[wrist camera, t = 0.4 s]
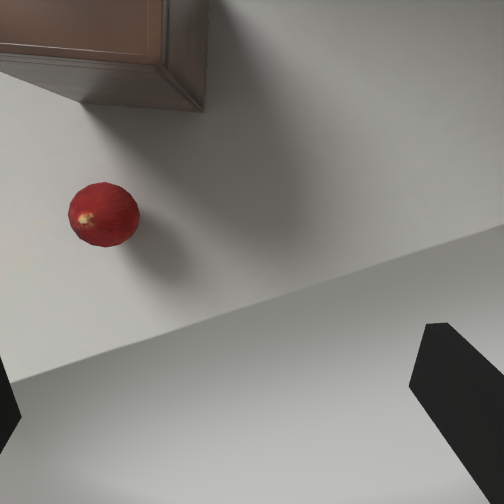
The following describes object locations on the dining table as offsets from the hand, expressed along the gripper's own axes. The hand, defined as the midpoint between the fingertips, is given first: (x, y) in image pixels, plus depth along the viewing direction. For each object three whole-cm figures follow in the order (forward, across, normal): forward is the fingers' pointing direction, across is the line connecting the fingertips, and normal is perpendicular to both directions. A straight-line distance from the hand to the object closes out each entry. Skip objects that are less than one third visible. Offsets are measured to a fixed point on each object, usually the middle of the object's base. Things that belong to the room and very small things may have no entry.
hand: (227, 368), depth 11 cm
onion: (+26, -9, -3) cm, 28 cm away
